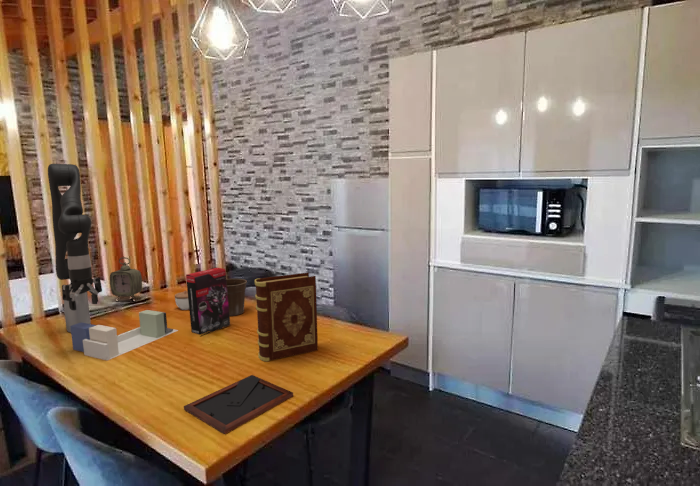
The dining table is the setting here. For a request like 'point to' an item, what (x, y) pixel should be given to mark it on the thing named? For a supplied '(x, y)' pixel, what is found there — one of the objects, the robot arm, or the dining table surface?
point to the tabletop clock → (125, 281)
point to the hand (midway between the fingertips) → (84, 306)
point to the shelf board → (125, 344)
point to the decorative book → (286, 315)
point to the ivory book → (105, 337)
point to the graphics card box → (208, 300)
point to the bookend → (166, 324)
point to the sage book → (152, 323)
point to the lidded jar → (182, 300)
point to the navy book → (80, 335)
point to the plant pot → (236, 295)
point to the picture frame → (237, 403)
